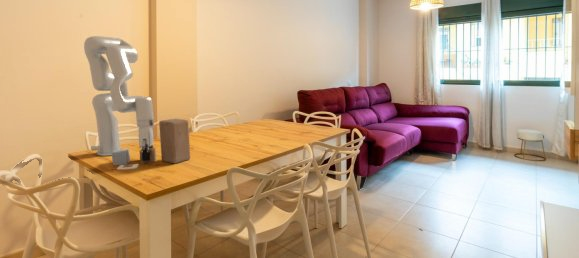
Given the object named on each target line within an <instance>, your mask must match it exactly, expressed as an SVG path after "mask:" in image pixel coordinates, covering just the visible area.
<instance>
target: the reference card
mask: <svg viewBox="0 0 579 258" xmlns="http://www.w3.org/2000/svg"><path fill="white" fill-rule="evenodd" d="M139 166H140V164H139V163H135V164H134V163H133V164H124V165H118V166H117V168H116V169H117V170H131V169H133V170H134V169H138V168H139Z"/></svg>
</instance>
